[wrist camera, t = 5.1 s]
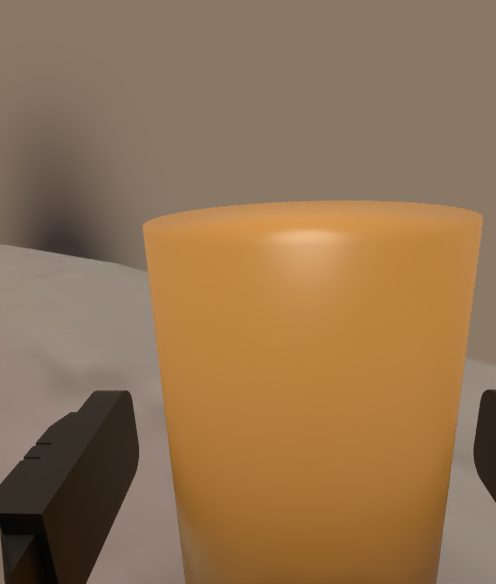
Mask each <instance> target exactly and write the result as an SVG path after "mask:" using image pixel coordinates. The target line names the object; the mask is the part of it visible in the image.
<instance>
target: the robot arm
mask: <svg viewBox="0 0 496 584" xmlns="http://www.w3.org/2000/svg"><path fill="white" fill-rule="evenodd" d="M138 460H139V443H138V436H137V430H136V423H135V416H134V409H133V402H132V397H131V394H130V393H129V391H95V392H93V393H92V394H91V395H90V397H89V398H88V399H87V400H86V402H85V403H84V404H83V406H82V407H81V408H80V409H79V411H78V412H71V413H69V414H68V415H66V416H65V417H63V418H62V419H60V420H59V421H57V422H56V423H54V424H53V425H51V426H50V427H49V428H48V429H47V430H46V432H45V433H44V434H43V435H42V436H41V437H40V439H39V440H38V441H37V442H36V446H33V447H32V448H31V449H30V450H29V451H28V453H27V454H26V455H25V456H24V460H23V461H20V462H19V463H18V464H17V465H16V467H15V468H14V469H13V470H12V471H11V472H10V474H9V475H8V476H7V477H6V478H5V479H4V481H3V482H2V483H1V484H0V584H86V582H87V580H88V578H89V576H90V574H91V571H92V569H93V567H94V565H95V563H96V560H97V558H98V556H99V554H100V551H101V549H102V547H103V545H104V543H105V540H106V538H107V536H108V534H109V531H110V529H111V527H112V525H113V523H114V520H115V518H116V516H117V514H118V511H119V509H120V507H121V505H122V503H123V500H124V498H125V496H126V494H127V491H128V489H129V487H130V485H131V483H132V480H133V478H134V476H135V473H136V470H137V466H138ZM474 462H475V466H476V470H477V473H478V475H479V477H480V479H481V481H482V482H483V484H484V485H485V487H486V488H487V490H488V491H489V493H490V494H491V496H492V498H493V499H494V501H495V502H496V390H486V391H485V392H484V393H483V394H482V397H481V401H480V408H479V415H478V422H477V429H476V435H475V442H474Z"/></svg>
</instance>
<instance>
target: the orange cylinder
mask: <svg viewBox="0 0 496 584" xmlns="http://www.w3.org/2000/svg"><path fill="white" fill-rule="evenodd" d="M482 223H483V216H481V215H480V214H479V213H476V212H474V211H471V210H467V209H462V208H458V207H452V206H444V205H436V204H425V203H412V202H392V201H298V202H276V203H261V204H246V205H234V206H224V207H216V208H206V209H199V210H192V211H186V212H180V213H175V214H170V215H166V216H162V217H158V218H155V219H153V220H150V221H148V222H146V223H145V224H144V225H143V233H144V242H145V250H146V258H147V267H148V275H149V283H150V292H151V300H152V308H153V317H154V325H155V333H156V342H157V350H158V358H159V367H160V375H161V383H162V392H163V400H164V408H165V417H166V425H167V433H168V442H169V450H170V458H171V467H172V475H173V483H174V492H175V500H176V508H177V516H178V525H179V533H180V541H181V550H182V558H183V566H184V575H185V583H186V584H436V581H437V574H438V566H439V558H440V550H441V542H442V535H443V527H444V519H445V511H446V503H447V496H448V488H449V480H450V472H451V464H452V457H453V449H454V441H455V433H456V425H457V418H458V410H459V402H460V394H461V386H462V379H463V371H464V363H465V354H466V346H467V340H468V332H469V324H470V316H471V308H472V301H473V292H474V285H475V277H476V269H477V262H478V253H479V246H480V238H481V230H482Z"/></svg>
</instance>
